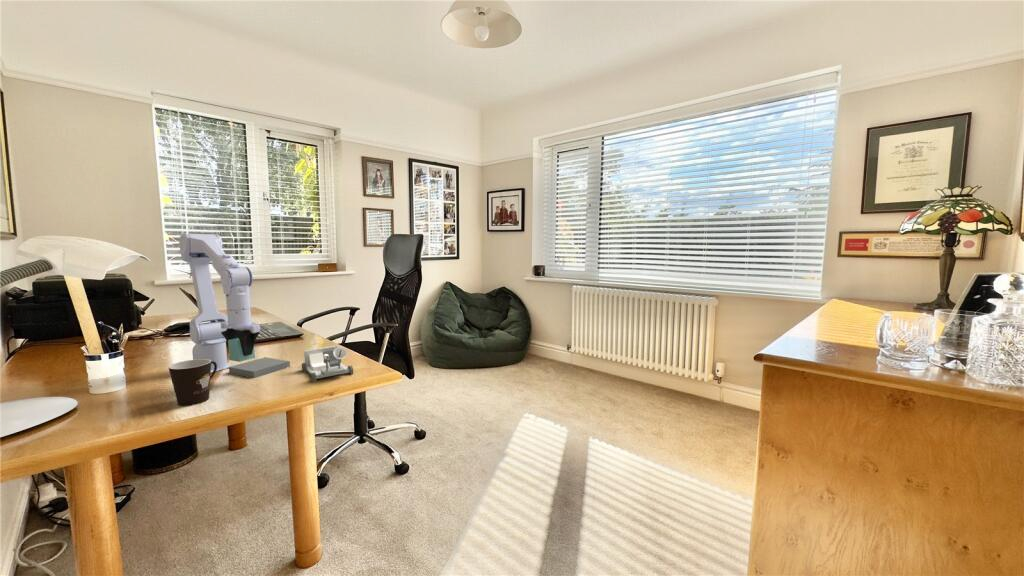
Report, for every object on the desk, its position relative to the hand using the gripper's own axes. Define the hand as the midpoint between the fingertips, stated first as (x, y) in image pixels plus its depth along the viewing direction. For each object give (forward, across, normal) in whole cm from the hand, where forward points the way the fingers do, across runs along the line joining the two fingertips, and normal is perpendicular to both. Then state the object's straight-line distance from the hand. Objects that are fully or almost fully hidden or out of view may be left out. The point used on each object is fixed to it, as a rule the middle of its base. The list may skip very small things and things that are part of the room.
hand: (242, 354), depth 117 cm
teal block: (+2, 0, 0) cm, 2 cm away
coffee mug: (+8, +3, -14) cm, 16 cm away
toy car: (+9, +17, +15) cm, 25 cm away
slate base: (+9, -6, +9) cm, 14 cm away
